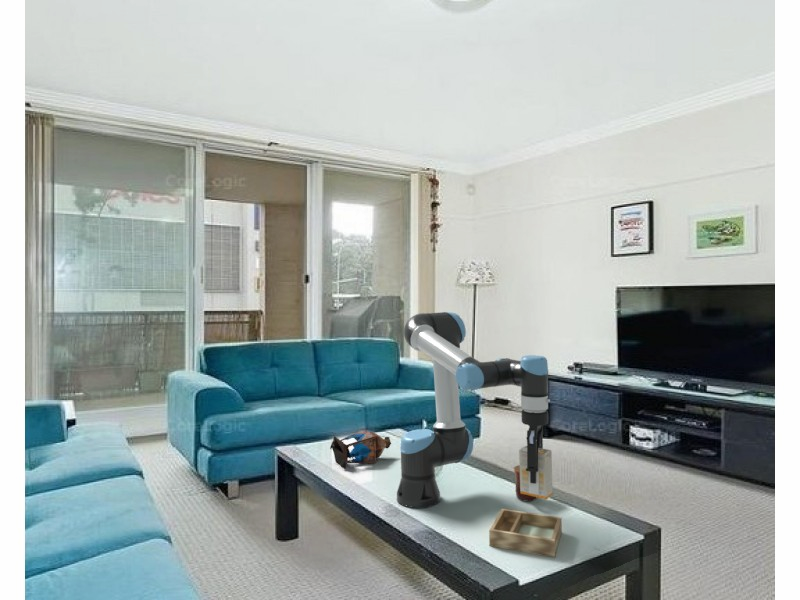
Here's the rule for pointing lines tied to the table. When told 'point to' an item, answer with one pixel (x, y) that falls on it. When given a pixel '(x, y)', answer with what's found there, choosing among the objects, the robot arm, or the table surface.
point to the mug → (518, 494)
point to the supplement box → (544, 473)
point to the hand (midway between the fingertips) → (535, 489)
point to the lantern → (360, 448)
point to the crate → (526, 532)
